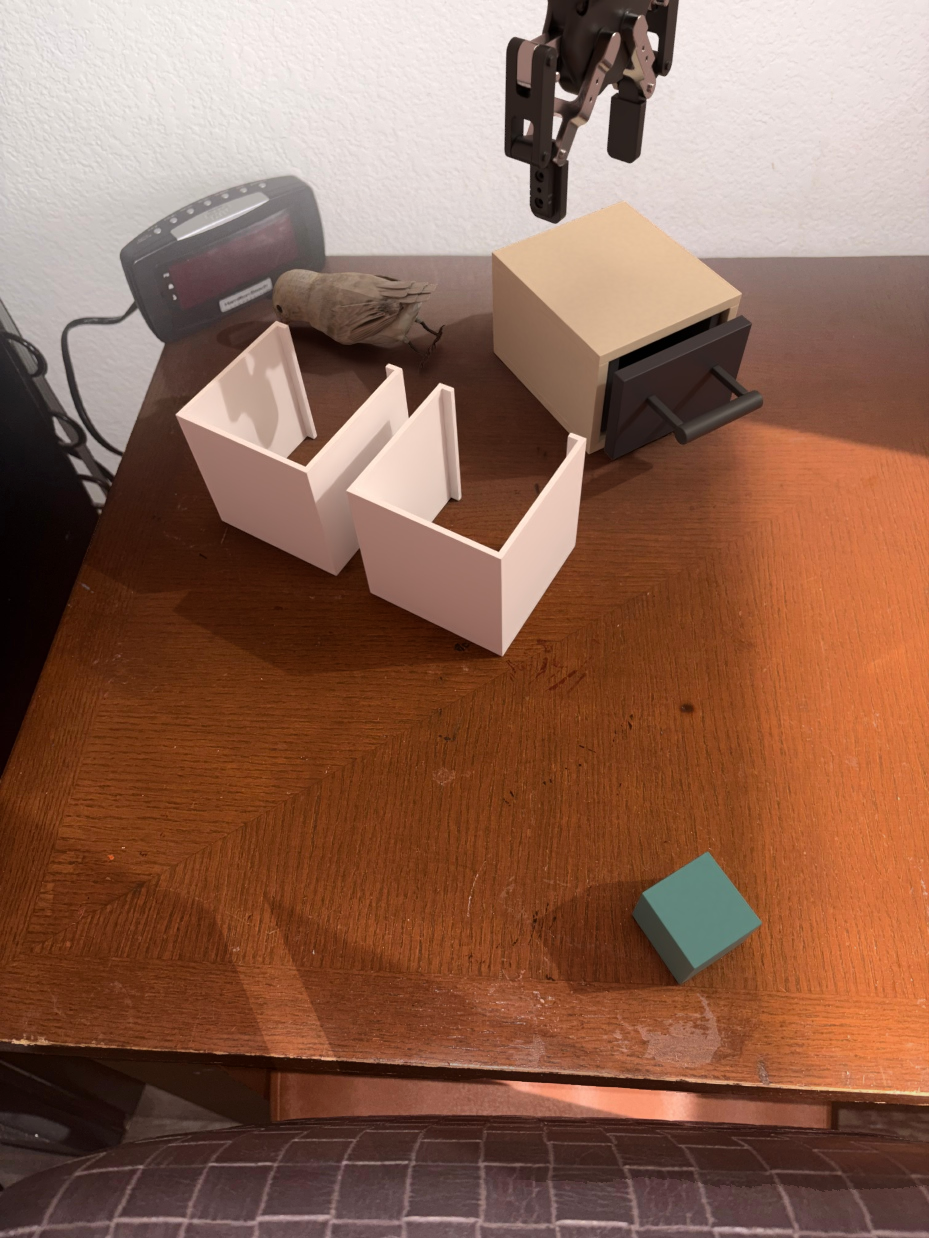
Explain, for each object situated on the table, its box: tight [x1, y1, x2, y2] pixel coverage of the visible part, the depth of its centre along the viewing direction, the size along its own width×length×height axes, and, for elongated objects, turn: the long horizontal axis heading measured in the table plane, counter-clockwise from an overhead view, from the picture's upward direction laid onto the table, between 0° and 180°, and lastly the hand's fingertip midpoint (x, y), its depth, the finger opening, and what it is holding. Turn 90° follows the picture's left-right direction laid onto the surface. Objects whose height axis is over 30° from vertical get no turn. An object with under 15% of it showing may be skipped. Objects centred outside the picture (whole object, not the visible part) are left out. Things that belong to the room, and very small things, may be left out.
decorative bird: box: [271, 268, 446, 374], centre depth 74 cm, size 5×16×8 cm, turn 68°
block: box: [631, 851, 763, 986], centre depth 46 cm, size 4×4×4 cm
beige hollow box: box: [491, 200, 743, 455], centre depth 69 cm, size 15×13×10 cm
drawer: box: [600, 312, 764, 461], centre depth 66 cm, size 18×12×8 cm, turn 30°
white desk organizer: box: [175, 320, 586, 657], centre depth 60 cm, size 25×11×11 cm, turn 59°
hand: (587, 187), depth 55 cm, fingers open, 8 cm apart
